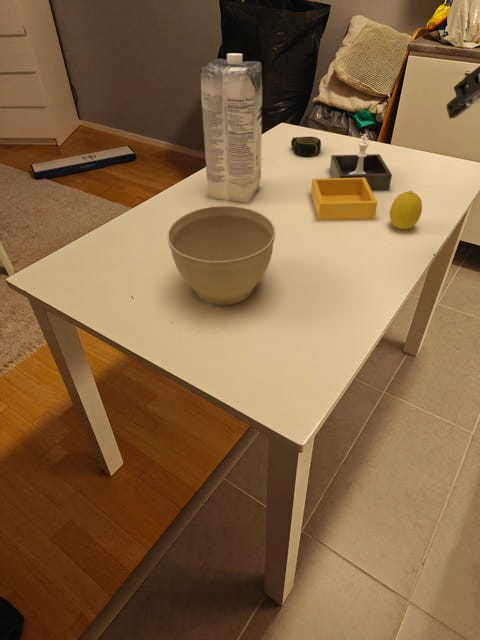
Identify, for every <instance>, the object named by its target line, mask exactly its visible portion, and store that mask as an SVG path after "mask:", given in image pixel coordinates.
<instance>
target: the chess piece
mask: <svg viewBox="0 0 480 640" xmlns="http://www.w3.org/2000/svg"><path fill="white" fill-rule="evenodd" d="M367 136H368V135H367V133H364V134H363V135H362V136H360V140H362V141H360V142H359V143H358V147H359V148H358V149H359V152H357V153H356V155H357V156H358V157H359V160H358V164H357V167H356V170H355V171H354V172H351V173H349V174H366V173H364V171H363V161H364V157H366V156H367V154H368V153H366V151H367V149H368V147H369V143H368V141H369V137H367Z"/></svg>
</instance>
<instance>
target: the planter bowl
mask: <svg viewBox="0 0 480 640" xmlns="http://www.w3.org/2000/svg"><path fill="white" fill-rule="evenodd" d="M166 237H167V242H168V246H169V248H170V251H171V256H172V260H173V261H174V264H175V266H176V269H177V270H178V272H179V274H180V276H181V277H182V278H183V279H184V281H185V282H186V283H187V284H188V285H189V287H191V288H192V289H193V290H194V291H195V292H196V294H197V295H198V297H199V298H200V299H202V300H204V301H205V302H207V303H211V304H215V305H232V304H233V305H234V304H236V303H239V302H243V301H244V300H246V299H247V298H249V297H250V295H252V293H253V291H254V289H255V287H256V286H257V285H258V283H259V282H260V281H261V280H262V278H263V277H264V276H265V273H266V271H267V269H268V267H269V265H270V262H271V260H272V254H273V250H274V242H275V239H276V228H275V225H274V223H273V222H272V220H271V219H270V218H269V217H268V216H266V215H264V214H263V213H261V212H259V211H257V210H255V209H252V208H248V207H245V206H238V205H213V206H211V205H210V206H206V207H202V208H198V209H194V210H192V211H190V212H188V213H185V214H184V215H182V216H180V217H179V218H177V219H176V220H175V221H174V222H173V223H172V224H171V225H170V226H169V228H168V230H167V236H166Z"/></svg>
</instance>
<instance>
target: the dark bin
mask: <svg viewBox="0 0 480 640" xmlns="http://www.w3.org/2000/svg"><path fill="white" fill-rule="evenodd" d="M366 154H367V156H366V157H364V161H363V171H364V173H366V174H349V173H351V172H354V171H355V170H356V167H357V164H358V160H359V157H358V156H357V154H331V156H330V164H329V172H330V175H331V178H364V177H365V179H366V181H367V183H368V185H369V187H370V189H371V191H372V192H384V191H385V192H387V191H388V192H389V190H390V187H391V182H392V177H393V174H392V173H391V171H390V169H389V167H388V166H387V164H386V162H385V161H384V159H383V158H382V156H381V155H380V153H376V154H375V153H373V154H372V153H370V154H369V153H366Z"/></svg>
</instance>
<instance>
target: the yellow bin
mask: <svg viewBox="0 0 480 640" xmlns="http://www.w3.org/2000/svg"><path fill="white" fill-rule="evenodd" d="M310 196H311V200H312V203H313V207H314V210H315V214H316V218H317V220H318V221H344V220H346V221H348V220H375V217H376V213H377V208H378V200H377V198H376V197H375V195H374V193H373V191H371V189H370V187H369V185H368V183H367V181H366V179H365V177H364V178H332V177H331V178H330V177H327V178H325V177H324V178H312V179H311V189H310Z"/></svg>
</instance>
